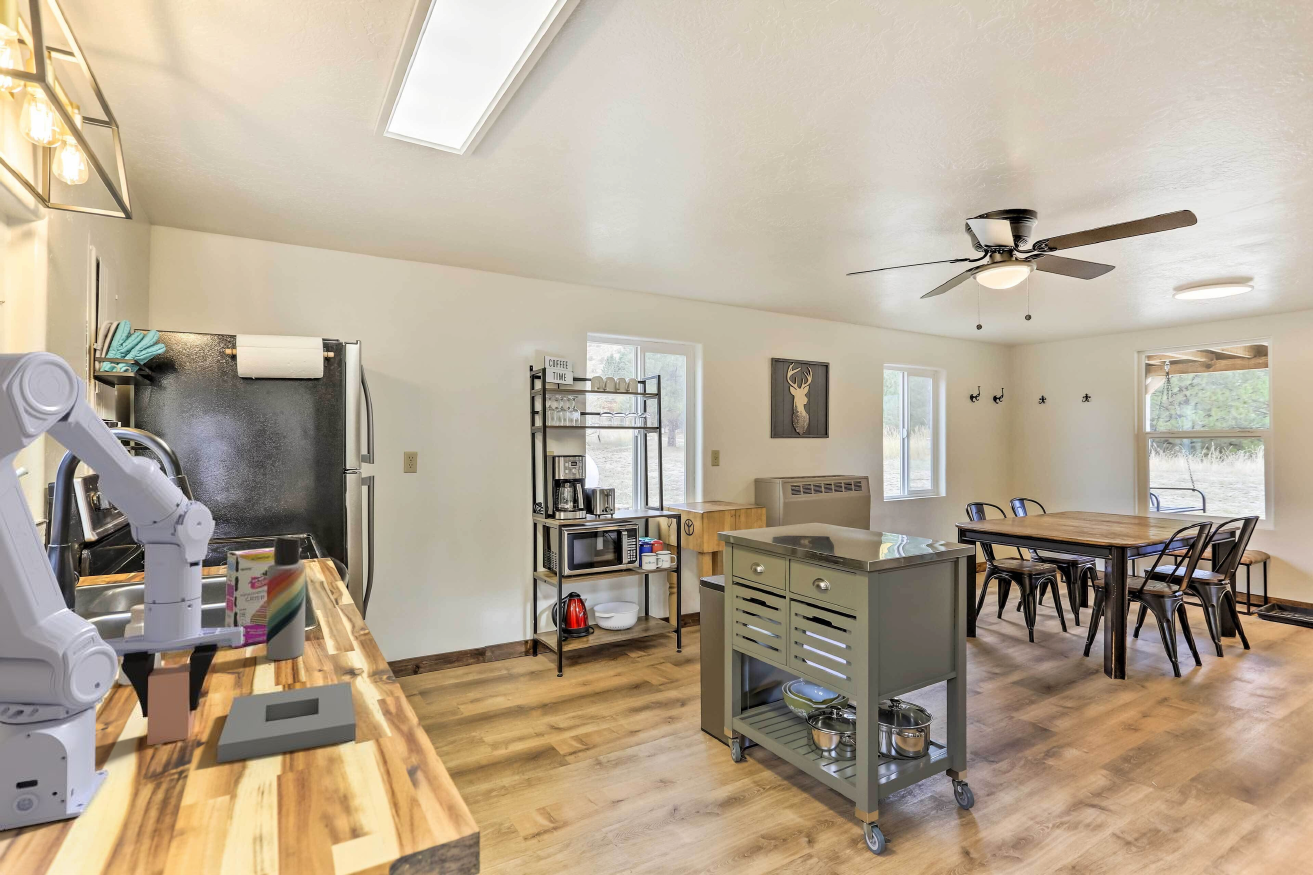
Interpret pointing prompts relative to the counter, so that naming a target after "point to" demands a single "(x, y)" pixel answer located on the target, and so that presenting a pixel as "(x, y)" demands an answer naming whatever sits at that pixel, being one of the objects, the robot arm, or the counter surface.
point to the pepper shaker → (131, 630)
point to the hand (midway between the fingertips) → (171, 711)
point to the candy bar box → (248, 593)
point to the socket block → (287, 721)
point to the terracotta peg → (169, 704)
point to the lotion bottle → (285, 601)
